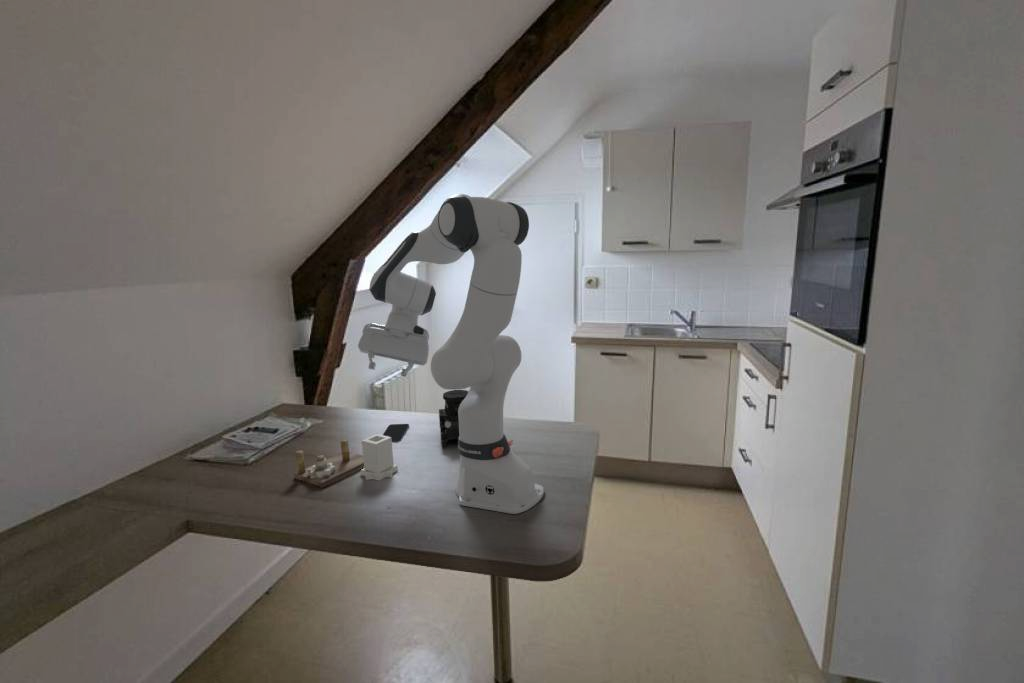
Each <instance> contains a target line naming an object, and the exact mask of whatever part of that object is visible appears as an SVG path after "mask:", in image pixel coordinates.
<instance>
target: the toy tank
mask: <svg viewBox="0 0 1024 683" xmlns="http://www.w3.org/2000/svg"><path fill="white" fill-rule="evenodd" d="M468 392H469V390H466V389H451V390H449V391H446V392H443V393H442V399H443V400H444V408H440V409H438V418H439V420H438V421H439V428H440V431H439V432H440V442H441V447H447V443H448V441H450V440H458V437H459V418H458V409H459V406H460V404H461V402H462V401H463V400H464V399H465V397H466V396H467V394H468Z"/></svg>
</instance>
